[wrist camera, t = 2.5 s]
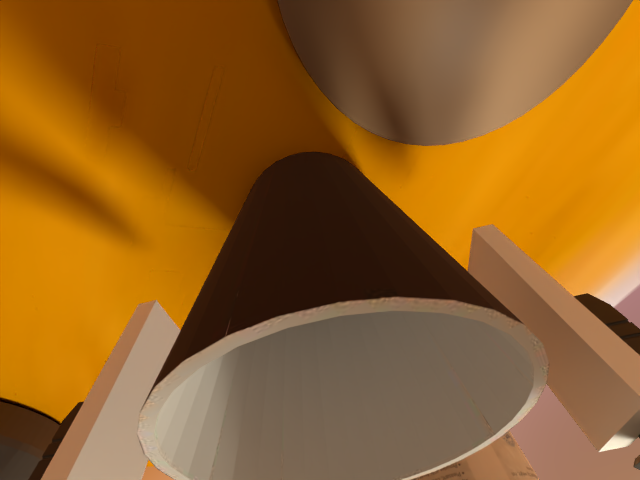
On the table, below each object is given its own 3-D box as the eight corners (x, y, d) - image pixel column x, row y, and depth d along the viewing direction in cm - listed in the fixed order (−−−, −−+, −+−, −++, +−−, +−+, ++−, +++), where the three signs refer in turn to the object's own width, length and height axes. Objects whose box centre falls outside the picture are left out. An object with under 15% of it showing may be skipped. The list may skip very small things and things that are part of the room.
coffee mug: (242, 95, 11) (141, 239, 3) (426, 159, 14) (645, 336, 5) (203, 300, 17) (134, 537, 9) (336, 320, 19) (378, 521, 11)
